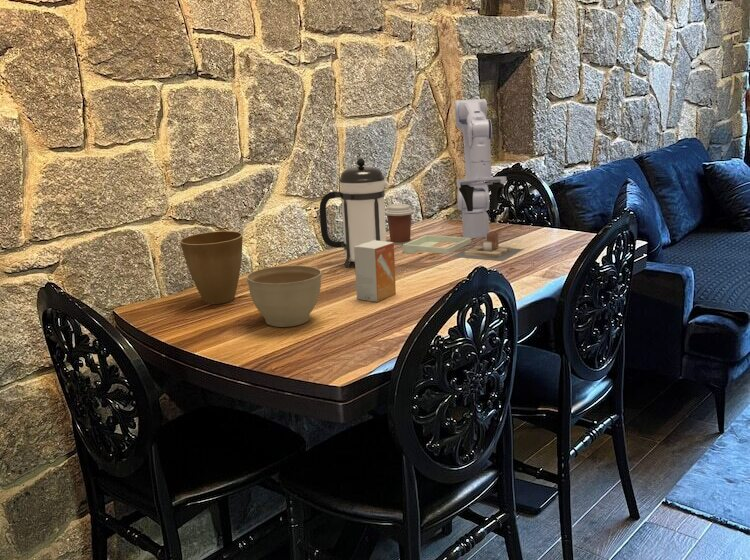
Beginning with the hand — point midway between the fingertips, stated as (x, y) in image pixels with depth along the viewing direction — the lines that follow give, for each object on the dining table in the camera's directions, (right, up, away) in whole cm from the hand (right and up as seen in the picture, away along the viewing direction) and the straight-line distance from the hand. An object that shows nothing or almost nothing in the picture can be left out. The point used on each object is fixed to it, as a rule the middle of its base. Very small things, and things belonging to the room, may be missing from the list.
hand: (482, 210), depth 205 cm
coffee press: (-34, -15, +2) cm, 38 cm away
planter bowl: (-50, -29, -47) cm, 74 cm away
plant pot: (-69, -25, -28) cm, 79 cm away
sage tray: (-12, -10, +15) cm, 22 cm away
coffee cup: (-22, -8, +27) cm, 36 cm away
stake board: (+2, -13, +3) cm, 13 cm away
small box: (-30, -24, -32) cm, 50 cm away
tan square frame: (+2, -12, +3) cm, 12 cm away
